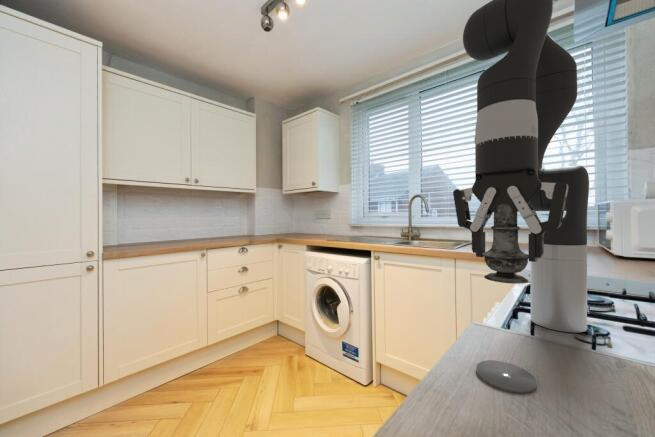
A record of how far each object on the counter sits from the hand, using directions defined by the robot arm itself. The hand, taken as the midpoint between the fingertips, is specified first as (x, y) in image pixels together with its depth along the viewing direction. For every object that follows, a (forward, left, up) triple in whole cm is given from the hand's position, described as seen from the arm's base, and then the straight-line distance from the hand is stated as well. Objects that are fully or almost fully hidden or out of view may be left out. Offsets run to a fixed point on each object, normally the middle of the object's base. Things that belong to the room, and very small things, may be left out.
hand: (505, 258), depth 40 cm
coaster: (0, 0, -17) cm, 17 cm away
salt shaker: (0, 0, -3) cm, 3 cm away
